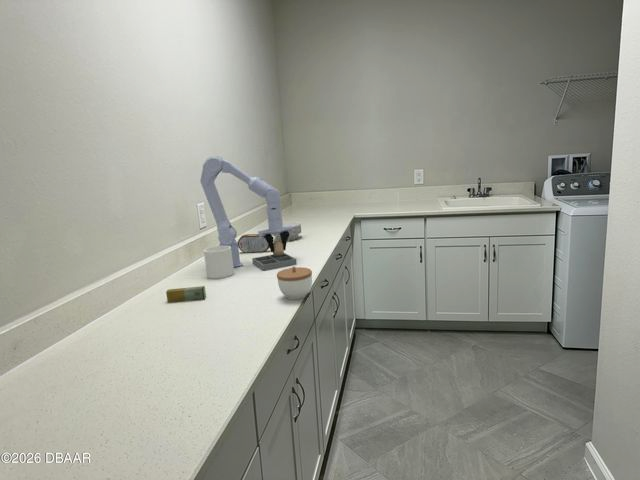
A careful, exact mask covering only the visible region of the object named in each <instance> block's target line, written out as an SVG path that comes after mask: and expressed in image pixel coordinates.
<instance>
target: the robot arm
mask: <svg viewBox="0 0 640 480" xmlns="http://www.w3.org/2000/svg"><path fill="white" fill-rule="evenodd" d="M220 173H225V174H230V175H232V176H234V177H235V178H237V179H239V180H240V181H242V182H244V183H245V184H247V186H248V189H249V191H251V192H253V193H255V194H256V195H257V196H259V197H261V198H264V199H265V201H266V206H267V207H266V213H267V216H266V217H267V223H268V225H267V226H268V229H264V230H259V231H258V232H257V234H259V236H260V237H261V236H264V238H265V239H266V241H267V242H268V245H269V247H270V248H269V249H270V250H269V251H270V252H271V253H273V252H274V246H273V243H274V236H273V235H272V234H277V233H280V236H281V242H282V243H283V249H284V251H286V248H287V242H288V241H287V240H288V237H289V233H288V232H289V231H294V228H293V226H288V227H283V224H282V222H283V215H282V213H283V212H282V206H281V201H280V200H281V195H280V192H279V190H278V189H277V188H276V187H273V185H272V184H268V183H267V182H266V181H264V180H263V178H262V177H258V176H253V177H252V176H250V174H248V173H246V172H245V171H244V170H242V169H241V168H240V167H238V166H237V165H235V164H234V163H232V162H230V161H229V160H227V159H224V158H222V157H221V156H219V155H212V156H209V157H207V159H206V160H205V162H204V163H203V165H202V170H201V176H200V180H199V181H200V184H201V188H202V190H203V192H204V194H205V197H206V200H207V203H208V206H209V207H210V210H211V213H212V215H213V218H214V221H215V224H216V227H217V228H216V229H217V232H218V238H217V240H218V241H219V246H230V247H231V251H232V259H233V267H234V268H235V267H241V266H242V267H243V266H244V264H243V262H241V259H240V251H239V250H240V249H239V247H238V241H237V240H236V238H237V235H238V234H237V230H236V228H235V227H233V225H232V222H231V221H230V219H229V218H228V215H227V213H226V210H225V207H224V205H223V203H222V199H221V197H220V195H219V192H218V189H217V187H216V184H215V181H216V179H217V177H218V175H219V174H220ZM273 232H274V233H273Z"/></svg>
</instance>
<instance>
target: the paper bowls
mask: <svg viewBox="0 0 640 480" xmlns="http://www.w3.org/2000/svg"><path fill="white" fill-rule="evenodd" d="M282 224H283V227H288V226H293V228H294V231H289V232H288V233H289V237H288V240H287V242H290V241H294V240H296V239H297V238H298V236H299V235H300V234H301V233H302V225H301V222H297V221H282ZM273 233H274V232H273ZM271 235H272V236H273V237H275V239H276V241H277V240H278V241H281V236H280V233H277V234H271Z"/></svg>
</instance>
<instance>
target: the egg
mask: <svg viewBox="0 0 640 480" xmlns="http://www.w3.org/2000/svg"><path fill="white" fill-rule="evenodd" d="M273 246H274V252H272V255H274V256H279V255H283V254H284V253H285V250H284V249H283V243H282V242H281V241H279V240H277V239H276V240H275V241H273Z"/></svg>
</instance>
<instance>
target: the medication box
mask: <svg viewBox="0 0 640 480" xmlns="http://www.w3.org/2000/svg"><path fill="white" fill-rule="evenodd" d="M165 293H166V301H167V303H168V304H170V303H179V302H180V303H182V302H193V301H194V302H195V301H204V300H206V299H207V292H206V286H205V285H202V286H201V285H200V286H191V287H182V288H180V287H179V288H171V289H170V288H169V289H167V290H166V291H165Z"/></svg>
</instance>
